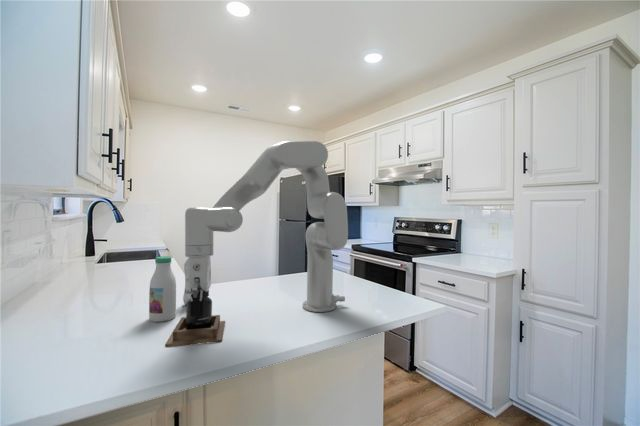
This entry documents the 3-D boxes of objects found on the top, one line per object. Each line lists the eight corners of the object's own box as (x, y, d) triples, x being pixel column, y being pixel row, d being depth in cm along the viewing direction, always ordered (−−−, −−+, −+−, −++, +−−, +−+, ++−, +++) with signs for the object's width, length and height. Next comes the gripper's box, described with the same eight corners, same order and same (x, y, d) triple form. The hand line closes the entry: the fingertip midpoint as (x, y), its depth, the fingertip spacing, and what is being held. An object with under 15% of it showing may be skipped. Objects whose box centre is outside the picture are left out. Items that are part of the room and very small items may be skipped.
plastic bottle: (178, 305, 109) (179, 251, 109) (193, 300, 115) (193, 249, 115) (192, 308, 107) (192, 252, 106) (206, 303, 113) (206, 250, 113)
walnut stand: (225, 322, 94) (225, 312, 94) (221, 341, 80) (221, 330, 80) (177, 326, 90) (177, 316, 90) (165, 346, 77) (165, 334, 77)
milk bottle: (171, 312, 102) (171, 254, 102) (179, 318, 97) (180, 257, 96) (146, 317, 97) (146, 256, 97) (153, 324, 91) (153, 259, 91)
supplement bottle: (202, 337, 82) (203, 293, 81) (180, 334, 83) (181, 291, 83) (216, 327, 88) (216, 287, 88) (195, 325, 90) (196, 285, 89)
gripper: (209, 254, 78) (209, 319, 78) (216, 246, 94) (216, 299, 95) (178, 255, 76) (178, 321, 76) (190, 246, 93) (190, 301, 93)
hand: (199, 309), depth 85 cm, fingers open, 9 cm apart
